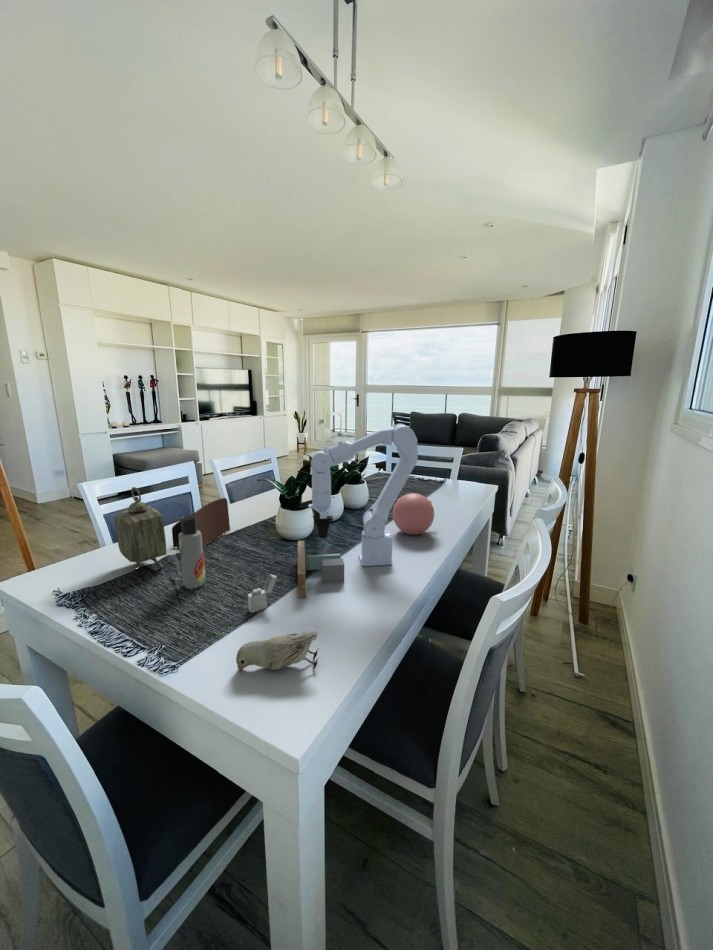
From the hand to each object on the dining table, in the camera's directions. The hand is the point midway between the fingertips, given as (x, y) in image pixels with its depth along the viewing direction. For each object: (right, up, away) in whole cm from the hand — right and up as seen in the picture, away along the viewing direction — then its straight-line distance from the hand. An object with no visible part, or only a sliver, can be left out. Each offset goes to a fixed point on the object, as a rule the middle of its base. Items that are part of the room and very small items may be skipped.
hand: (322, 532), depth 119 cm
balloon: (+34, -4, +27) cm, 43 cm away
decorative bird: (-5, -20, -43) cm, 48 cm away
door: (+1, -10, -3) cm, 11 cm away
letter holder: (-45, -5, +19) cm, 49 cm away
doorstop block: (+4, -12, -9) cm, 16 cm away
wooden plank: (-5, -12, -8) cm, 15 cm away
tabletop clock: (-54, -10, -2) cm, 55 cm away
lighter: (-13, -15, -23) cm, 30 cm away
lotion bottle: (-34, -13, -12) cm, 39 cm away
